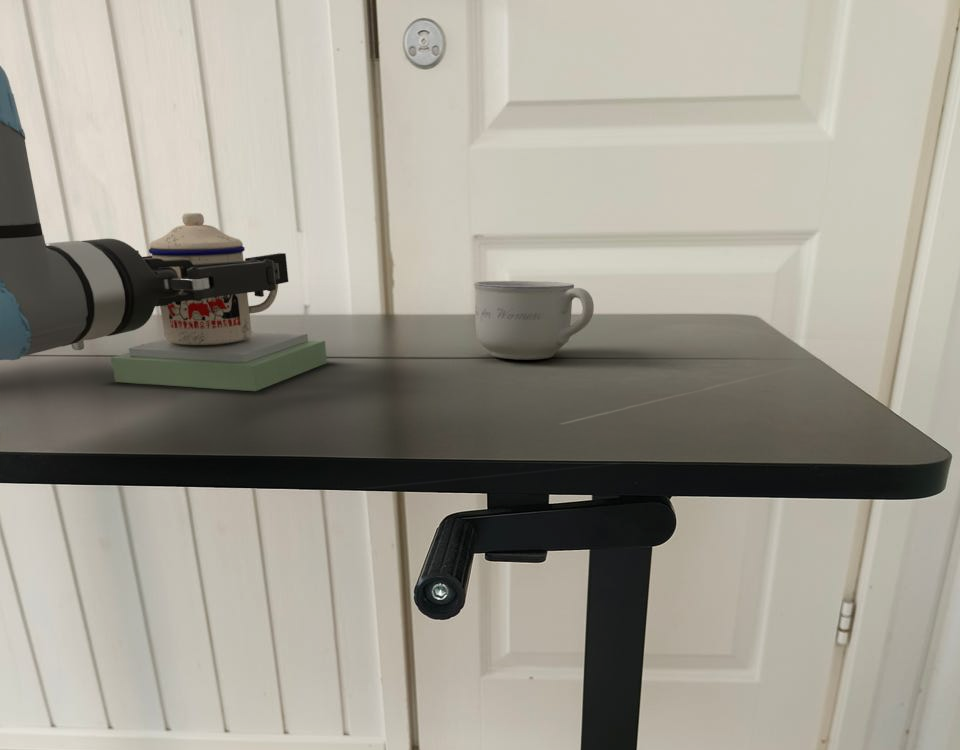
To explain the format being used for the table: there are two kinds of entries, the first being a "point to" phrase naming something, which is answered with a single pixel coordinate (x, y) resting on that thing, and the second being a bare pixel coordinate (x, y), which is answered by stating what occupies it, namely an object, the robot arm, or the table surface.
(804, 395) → the table surface
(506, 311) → the teacup
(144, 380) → the scale
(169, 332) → the teacup with lid
